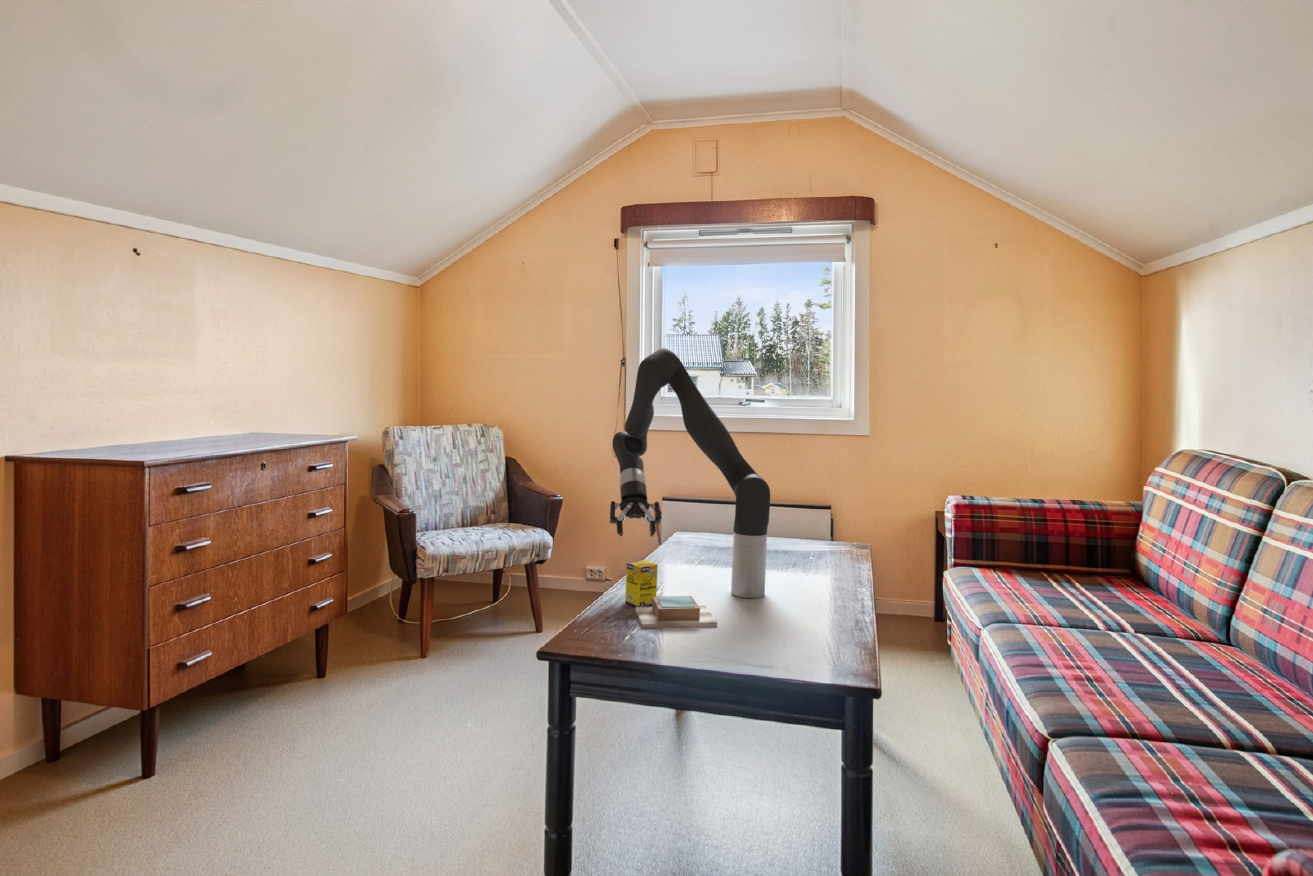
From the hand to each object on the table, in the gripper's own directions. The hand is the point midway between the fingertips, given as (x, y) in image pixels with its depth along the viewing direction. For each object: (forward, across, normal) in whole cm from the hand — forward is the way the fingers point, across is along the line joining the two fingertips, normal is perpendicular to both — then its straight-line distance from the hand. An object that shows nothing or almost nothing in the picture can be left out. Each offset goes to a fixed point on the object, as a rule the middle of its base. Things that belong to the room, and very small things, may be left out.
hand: (636, 534), depth 194 cm
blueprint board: (+28, +7, -5) cm, 29 cm away
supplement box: (+20, 0, +3) cm, 20 cm away
